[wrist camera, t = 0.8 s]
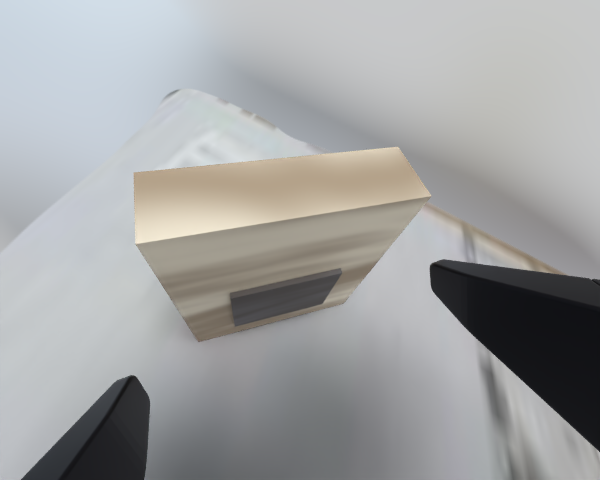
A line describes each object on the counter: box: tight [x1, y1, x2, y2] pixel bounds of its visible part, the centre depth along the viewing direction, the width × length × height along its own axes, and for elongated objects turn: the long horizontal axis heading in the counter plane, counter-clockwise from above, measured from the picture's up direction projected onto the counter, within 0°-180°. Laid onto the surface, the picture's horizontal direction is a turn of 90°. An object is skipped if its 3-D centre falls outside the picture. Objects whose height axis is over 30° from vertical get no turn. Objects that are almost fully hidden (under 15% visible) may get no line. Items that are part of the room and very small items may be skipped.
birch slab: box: [134, 147, 431, 342], centre depth 16 cm, size 3×11×13 cm, turn 107°
